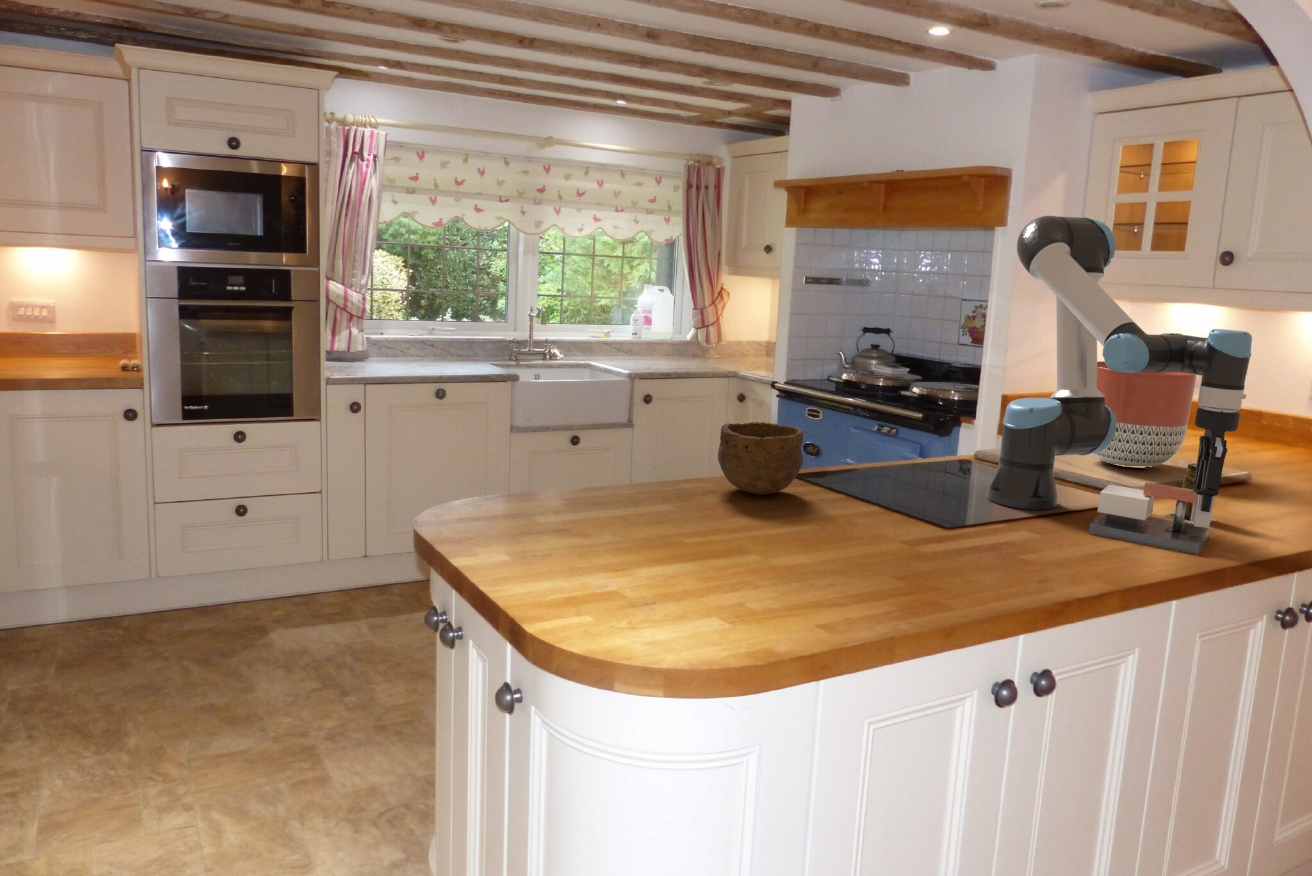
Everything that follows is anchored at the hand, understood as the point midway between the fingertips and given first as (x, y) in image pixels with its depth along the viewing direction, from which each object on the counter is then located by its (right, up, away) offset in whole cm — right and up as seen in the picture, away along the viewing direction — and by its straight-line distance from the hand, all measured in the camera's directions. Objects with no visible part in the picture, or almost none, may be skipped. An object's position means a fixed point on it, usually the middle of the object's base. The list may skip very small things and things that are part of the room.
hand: (1199, 524), depth 202 cm
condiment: (+9, -1, +21) cm, 23 cm away
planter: (+20, +9, +74) cm, 77 cm away
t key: (-3, -1, +2) cm, 4 cm away
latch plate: (-8, -3, +5) cm, 10 cm away
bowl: (-86, +5, +23) cm, 90 cm away
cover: (-11, +2, +7) cm, 14 cm away
